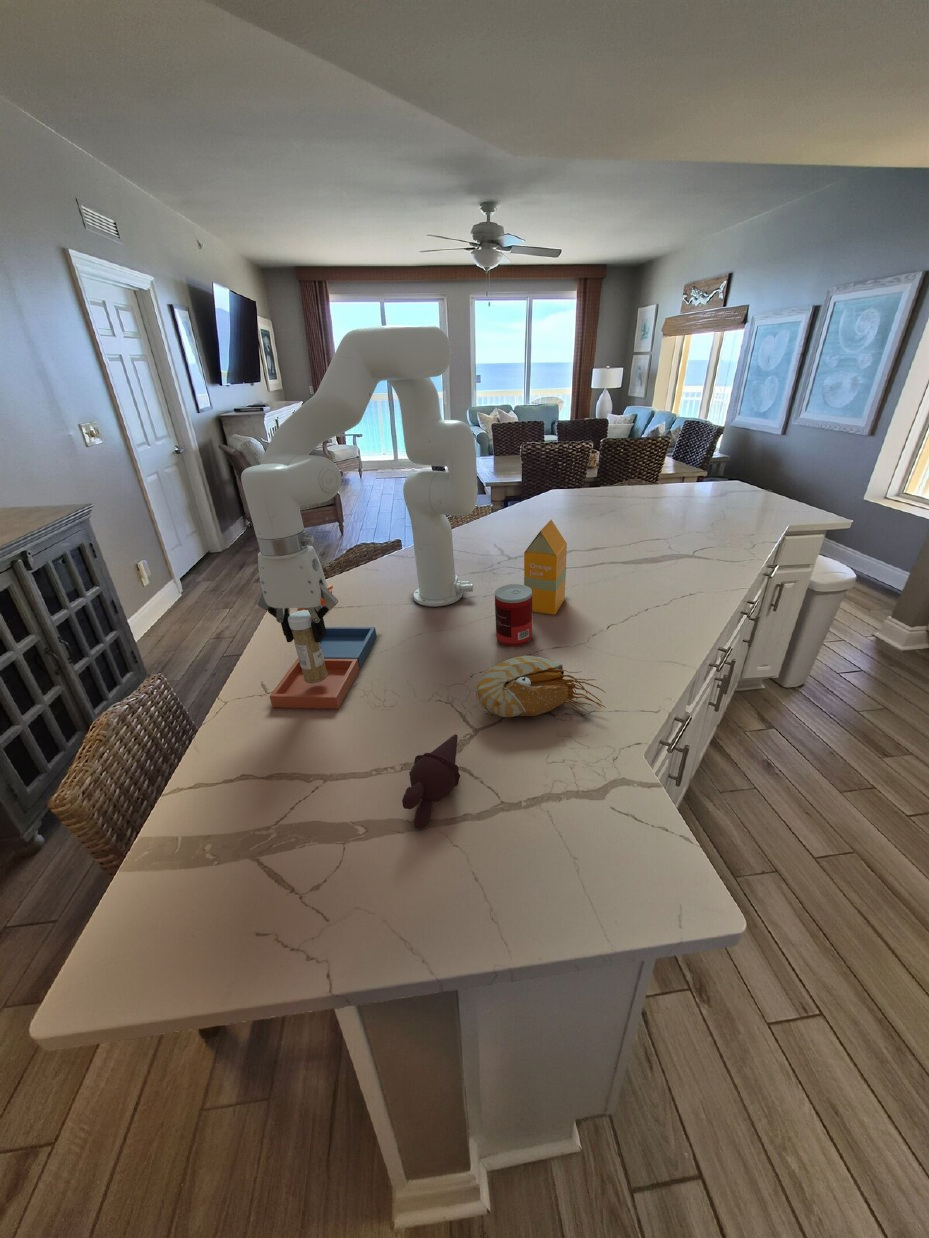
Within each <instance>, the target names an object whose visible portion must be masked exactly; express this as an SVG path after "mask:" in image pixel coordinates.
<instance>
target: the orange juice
mask: <svg viewBox="0 0 929 1238" xmlns="http://www.w3.org/2000/svg"><path fill="white" fill-rule="evenodd" d="M567 549H568V543H567V541H566V540H565V539H564V537H563V535H562V534H561V532H560V530H559V529H558V527H557V526H556V524H555V522H554V521H553V519H550V520H549V521H548V522H547V523H546V524H545V525H544V527H542V528H541V529H540V531H538V533H537V535H536V536H535V537H534V539H532V541H531V543H530V544H529V545H528V546H527V548H526V549H525V551H524V552H523V585H525V586H527V587H529V588H530V589H531V590H532V612H534V613H542V614H548V615H554V616H555V615H556V614H557V613H558V611H559V609H560V608H561V606H562V604H563V603H564V601H565V599H566V579H567V578H566V577H567V554H568V553H567V552H568V551H567Z"/></svg>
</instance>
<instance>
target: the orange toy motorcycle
mask: <svg viewBox="0 0 929 1238" xmlns="http://www.w3.org/2000/svg"><path fill="white" fill-rule="evenodd" d="M327 587H328V590H329V591H330V592H331V593H332V594H333V588H334V586H333V584H331V583H328V584H327ZM320 600H321V605H322V607H323V606H324V604H326V601H325V600H324V599H323V598H321V599H320ZM302 610H308V609H307V608H297V610H296V612H297V611H302Z"/></svg>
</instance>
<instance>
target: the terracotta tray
mask: <svg viewBox="0 0 929 1238" xmlns="http://www.w3.org/2000/svg"><path fill="white" fill-rule="evenodd" d="M324 663H325V667H326V671H327V673H328V675H327V677H326V679H324V680H323V681H321V682H318V683H314V684H311V683H307V682H305V681H304V678H303V677H304V675H303V672H302V668H301V666H300V662H299V658H298V657H297V658H296V659H295V661H294V662H293V664H292V665H291V666H290V667H289V668H288V671H287V672H286V673H285V674H284V676H283V677H282V678H281V680H280V681H279V682H278V684H277V685H276V686H275V688H274V689H273V690H272V692H271V693H270V695H269V696H268V697H269V700H270V703H271V707H272V708H287V709H288V708H289V709H291V708H293V709H294V708H295V709H334V710H335V709H336V710H337V709H338V710H339V709H340V707H341V705H342V703H343V701H344V700H345V697H346V695H347V694H348V692H349V690H350V688H351V686H352V684H353V683H354V681H355V679H356V677H357V675H358V673H359V672H360V668H359V664H358V659H324Z"/></svg>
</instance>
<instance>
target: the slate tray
mask: <svg viewBox="0 0 929 1238" xmlns="http://www.w3.org/2000/svg"><path fill="white" fill-rule="evenodd" d="M325 628H326V634H325V636H324V637H323V638H322V640H321V641H320V645H321V649H322V653H323V657H324V659H358V664H359V669H361V668H362V665H363V664H364V661H365V659H366V658H367V656H368V654H369V653H370V650H371V648H372V647H373V645H374V643H375V641H376V639H377V637H378V636H377V630H376V627H375V626H325Z"/></svg>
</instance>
